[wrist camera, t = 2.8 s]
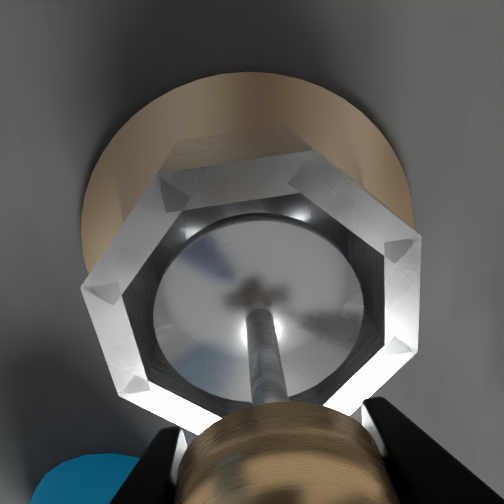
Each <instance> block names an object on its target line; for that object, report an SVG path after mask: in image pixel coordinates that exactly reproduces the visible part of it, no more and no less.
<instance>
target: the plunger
mask: <svg viewBox="0 0 504 504" xmlns="http://www.w3.org/2000/svg"><path fill="white" fill-rule="evenodd" d="M363 308H364V305H363V296H362V291H361V287H360V284H359V281H358V279H357V277H356V274H355V272H354V270H353V269H352V267H351V266H350V264H349V262H348V261H347V259H346V258H345V256H344V255H343V253H342V251H341V250H340V249H339V247H338V246H337V245H336V244H335V243H334V242H333V241H332V240H331V239H330V238H329V237H328V236H327V235H325V234H324V233H323V232H322V231H320V230H319V229H317V228H315V227H314V226H312V225H311V224H308V223H306V222H304V221H302V220H300V219H296V218H293V217H290V216H287V215H281V214H275V213H260V212H257V213H245V214H239V215H235V216H230V217H227V218H224V219H221V220H218V221H216V222H214V223H212V224H210V225H208V226H206V227H204V228H202V229H201V230H199V231H198V232H196V233H195V234H193V235H192V236H191V237H190V238H188V239H187V240H186V241H185V242H184V243H183V244H182V245H181V246H180V247H179V248H178V250H177V251H176V252H175V253H174V254H173V256H172V258H171V259H170V261H169V262H168V264H167V266H166V268H165V270H164V273H163V275H162V278H161V281H160V284H159V287H158V291H157V294H156V298H155V302H154V311H153V320H154V329H155V334H156V338H157V341H158V343H159V346H160V348H161V350H162V352H163V354H164V356H165V358H166V359H167V360H168V362H169V363H170V364H171V366H172V367H173V368H174V369H175V370H176V371H177V372H178V373H179V374H180V375H181V376H182V377H183V378H185V379H186V380H187V381H189V382H190V383H191V384H193V385H195V386H196V387H198V388H200V389H202V390H204V391H206V392H208V393H210V394H213V395H216V396H219V397H222V398H226V399H231V400H237V401H246V402H252V406H251V407H248V408H245V409H241V410H239V411H236V412H234V413H231V414H229V415H227V416H225V417H223V418H221V419H220V420H218V421H216V422H214V423H213V424H211V425H210V426H209V427H207V428H206V429H205V430H203V431H202V432H201V433H200V434H199V435H198V436H197V437H196V438H195V439H194V440H193V441H192V443H191V444H190V445H189V446H188V448H187V450H186V451H185V453H184V455H183V457H182V459H181V462H180V464H179V468H178V474H177V481H176V489H175V497H174V504H401V503H400V501H399V498H398V496H397V493H396V491H395V488H394V486H393V483H392V481H391V478H390V476H389V473H388V471H387V468H386V466H385V463H384V461H383V458H382V456H381V453H380V451H379V448H378V446H377V444H376V442H375V440H374V438H373V437H372V436H371V434H370V433H369V432H368V431H367V429H365V428H364V427H363V426H362V425H361V424H360V423H359V422H357V421H356V420H354V419H353V418H351V417H350V416H348V415H346V414H344V413H342V412H340V411H338V410H335V409H332V408H329V407H327V406H323V405H318V404H314V403H306V402H289V400H288V397H289V396H292V395H296V394H298V393H301V392H303V391H305V390H308V389H309V388H311V387H313V386H315V385H317V384H318V383H320V382H321V381H323V380H324V379H325V378H327V377H328V376H329V375H331V374H332V373H333V372H334V371H335V370H336V369H337V368H338V367H339V366H340V365H341V364H342V363H343V361H344V360H345V359H346V358H347V356H348V355H349V353H350V352H351V350H352V349H353V347H354V345H355V343H356V341H357V338H358V335H359V333H360V330H361V325H362V320H363Z"/></svg>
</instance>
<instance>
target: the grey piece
mask: <svg viewBox="0 0 504 504" xmlns="http://www.w3.org/2000/svg"><path fill="white" fill-rule="evenodd" d="M257 212H260V213H275V214H281V215H287V216H290V217H293V218H296V219H300V220H302V221H304V222H306V223H308V224H311V225H312V226H314V227H315V228H317V229H319V230H320V231H322V232H323V233H324V234H325V235H327V236H328V237H329V238H330V239H331V240H332V241H333V242H334V243H335V244H336V245H337V246H338V247H339V249H340V250H341V251H342V253H343V255H344V256H345V258H346V259H347V261H348V262H349V264H350V266H351V267H352V269H353V270H354V272H355V274H356V277H357V279H358V281H359V284H360V287H361V291H362V296H363V305H364V308H363V320H362V325H361V330H360V333H359V335H358V338H357V341H356V343H355V345H354V347H353V349H352V350H351V352H350V353H349V355H348V356H347V358H346V359H345V360H344V361H343V363H342V364H341V365H340V366H339V367H338V368H337V369H336V370H335V371H334V372H333V373H332V374H331V375H329V376H328V377H327V378H325V379H324V380H323V381H321V382H320V383H318V384H317V385H315V386H313V387H311V388H309V389H308V390H305V391H303V392H301V393H298V394H296V395H292V396H289V397H288V400H289V402H306V403H314V404H318V405H323V406H327V407H329V408H332V409H335V410H338V411H340V412H342V413H344V414H346V415H348V416H349V415H350V414H351V413H353V412H354V411H355V410H356V409H357V408H358V407H359V406H360V405H361V404H362V401H363V400H364V399H366V398H369V397H370V396H371V395H372V394H373V393H374V392H375V391H376V390H377V389H378V388H379V387H380V386H382V385H383V384H384V383H385V382H386V381H387V380H388V379H389V378H390V377H391V376H392V375H393V374H394V373H395V372H397V371H398V370H399V369H400V368H401V367H402V366H403V365H404V364H405V363H406V362H407V361H408V360H409V359H410V358H412V357H413V356H414V355H415V354H416V353H417V352H418V327H419V297H420V267H421V236H420V235H419V234H418V233H417V232H416V231H415V230H413V229H412V228H411V227H410V226H409V225H408V224H406V223H405V222H404V221H403V220H402V219H401V218H400V217H398V216H397V215H396V214H395V213H394V212H393V211H391V210H390V209H389V208H388V207H387V206H386V205H385V204H383V203H382V202H381V201H380V200H379V199H378V198H376V197H375V196H374V195H373V194H372V193H371V192H369V191H368V190H367V189H366V188H365V187H364V186H362V185H361V184H360V183H359V182H357V181H356V180H355V179H354V178H352V177H351V176H350V175H349V174H348V173H346V172H345V171H344V170H343V169H341V168H340V167H339V166H338V165H336V164H335V163H334V162H333V161H331V160H330V159H329V158H328V157H326V156H325V155H324V154H323V153H321V152H320V151H319V150H318V149H316V148H315V147H314V146H313V145H311V144H310V143H309V142H308V141H306V140H305V139H304V138H303V137H302V136H300V135H299V134H298V133H297V132H295V131H294V130H293V129H292V128H290V127H289V126H288V125H287V124H284V125H278V126H271V127H265V128H258V129H251V130H245V131H238V132H231V133H225V134H218V135H212V136H205V137H198V138H192V139H185V140H179V141H178V142H177V144H176V145H175V146H174V148H173V149H172V151H171V152H170V154H169V155H168V157H167V158H166V160H165V161H164V163H163V164H162V166H161V167H160V169H159V170H158V172H157V173H156V175H155V176H154V178H153V179H152V181H151V182H150V184H149V185H148V187H147V188H146V190H145V191H144V193H143V194H142V196H141V197H140V199H139V200H138V202H137V203H136V205H135V206H134V208H133V209H132V211H131V212H130V214H129V215H128V217H127V218H126V220H125V221H124V223H123V224H122V226H121V227H120V229H119V230H118V232H117V233H116V235H115V236H114V238H113V239H112V241H111V242H110V244H109V245H108V247H107V248H106V250H105V251H104V253H103V254H102V256H101V257H100V259H99V260H98V262H97V263H96V265H95V266H94V268H93V269H92V271H91V272H90V274H89V275H88V277H87V278H86V280H85V281H84V283H83V284H82V286H81V287H80V288H81V291H82V294H83V297H84V300H85V302H86V305H87V308H88V311H89V314H90V317H91V319H92V322H93V325H94V328H95V331H96V334H97V336H98V339H99V342H100V345H101V348H102V350H103V353H104V356H105V359H106V362H107V365H108V367H109V370H110V373H111V376H112V379H113V382H114V384H115V387H116V390H117V393H118V396H120V397H122V398H124V399H126V400H128V401H130V402H132V403H134V404H136V405H138V406H140V407H142V408H144V409H146V410H148V411H150V412H152V413H155V414H157V415H159V416H161V417H163V418H165V419H167V420H169V421H171V422H173V423H175V424H177V425H179V426H181V427H183V428H185V429H187V430H189V431H191V432H193V433H195V434H197V435H199V434H200V433H201V432H202V431H203V430H205V429H206V428H207V427H209V426H210V425H211V424H213V423H214V422H216V421H218V420H220V419H221V418H223V417H225V416H227V415H229V414H231V413H234V412H236V411H239V410H241V409H245V408H248V407H251V406H252V402H246V401H237V400H231V399H226V398H222V397H219V396H216V395H213V394H210V393H208V392H206V391H204V390H202V389H200V388H198V387H196V386H195V385H193V384H191V383H190V382H189V381H187V380H186V379H185V378H183V377H182V376H181V375H180V374H179V373H178V372H177V371H176V370H175V369H174V368H173V367H172V366H171V364H170V363H169V362H168V360H167V359H166V358H165V356H164V354H163V352H162V350H161V348H160V346H159V343H158V341H157V338H156V334H155V329H154V320H153V311H154V302H155V298H156V294H157V291H158V287H159V284H160V281H161V278H162V275H163V273H164V270H165V268H166V266H167V264H168V262H169V261H170V259H171V258H172V256H173V254H174V253H175V252H176V251H177V250H178V248H179V247H180V246H181V245H182V244H183V243H184V242H185V241H186V240H187V239H188V238H190V237H191V236H192V235H193V234H195V233H196V232H198V231H199V230H201V229H202V228H204V227H206V226H208V225H210V224H212V223H214V222H216V221H218V220H221V219H224V218H227V217H230V216H235V215H239V214H245V213H257Z"/></svg>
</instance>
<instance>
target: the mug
mask: <svg viewBox="0 0 504 504" xmlns="http://www.w3.org/2000/svg"><path fill="white" fill-rule="evenodd" d="M139 459H140V458H138V457H133V456H127V455H121V454H115V453H106V454H89V455H84V456H81V457H77V458H74V459H71V460H68V461H64V462H63V463H61V464H60V465H58V466H57V467H55V468H54V469H52V470H51V471H49V472H48V473H46V475H45V476H44V478H43V479H42V480H41V482H40V483H39V485H38V486H37V488H36V490H35V492H34V494H33V496H32V499H31V501H30V503H29V504H109V503H110V501H111V500H112V498H113V497H114V495H115V494H116V492H117V491H118V490H119V488H120V487H121V485H122V484H123V482H124V481H125V479H126V478H127V476H128V475H129V474H130V472H131V471H132V469H133V468H134V466H135V465H136V463H137V462H138V460H139Z"/></svg>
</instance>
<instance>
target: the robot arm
mask: <svg viewBox="0 0 504 504" xmlns="http://www.w3.org/2000/svg"><path fill="white" fill-rule="evenodd" d="M362 426H363V427H364V428H365V429H367V431H368V432H369V433H370V434H371V436H372V437H373V438H374V440H375V442H376V444H377V446H378V448H379V451H380V453H381V456H382V458H383V461H384V463H385V466H386V468H387V471H388V473H389V476H390V478H391V481H392V483H393V486H394V488H395V491H396V493H397V496H398V498H399V501H400V503H401V504H504V499H503V498H502V497H500V496H499V495H498V494H497V493H496V492H495V491H493V490H492V489H491V488H490V487H489V486H487V485H486V484H485V483H484V482H483V481H482V480H480V479H479V478H478V477H477V476H476V475H475V474H473V473H472V472H471V471H470V470H469V469H467V468H466V467H465V466H464V465H463V464H462V463H460V462H459V461H458V460H457V459H456V458H455V457H453V456H452V455H451V454H450V453H449V452H447V451H446V450H445V449H444V448H443V447H442V446H440V445H439V444H438V443H437V442H436V441H435V440H433V439H432V438H431V437H430V436H429V435H427V434H426V433H425V432H424V431H423V430H422V429H420V428H419V427H418V426H417V425H416V424H415V423H413V422H412V421H411V420H410V419H409V418H407V417H406V416H405V415H404V414H403V413H402V412H400V411H399V410H398V409H397V408H396V407H394V406H393V405H392V404H391V403H390V402H389V401H387V400H386V399H385V398H383V397H373V398H366V399H364V400H363V401H362ZM186 450H187V444H186V440H185V437H184V433H183V430H182V428H181V427H179V426H174V427H168V428H162V429H161V430H159V431H158V433H157V434H156V436H155V437H154V439H153V440H152V441H151V443H150V444H149V446H148V447H147V449H146V450H145V452H144V453H143V455H142V456H141V457H140V459H139V460H138V462H137V463H136V465H135V466H134V468H133V469H132V471H131V472H130V474H129V475H128V476H127V478H126V479H125V481H124V482H123V484H122V485H121V487H120V488H119V490H118V491H117V492H116V494H115V495H114V497H113V498H112V500H111V501H110V503H109V504H174V497H175V489H176V481H177V474H178V468H179V464H180V462H181V459H182V457H183V455H184V453H185V451H186Z"/></svg>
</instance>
